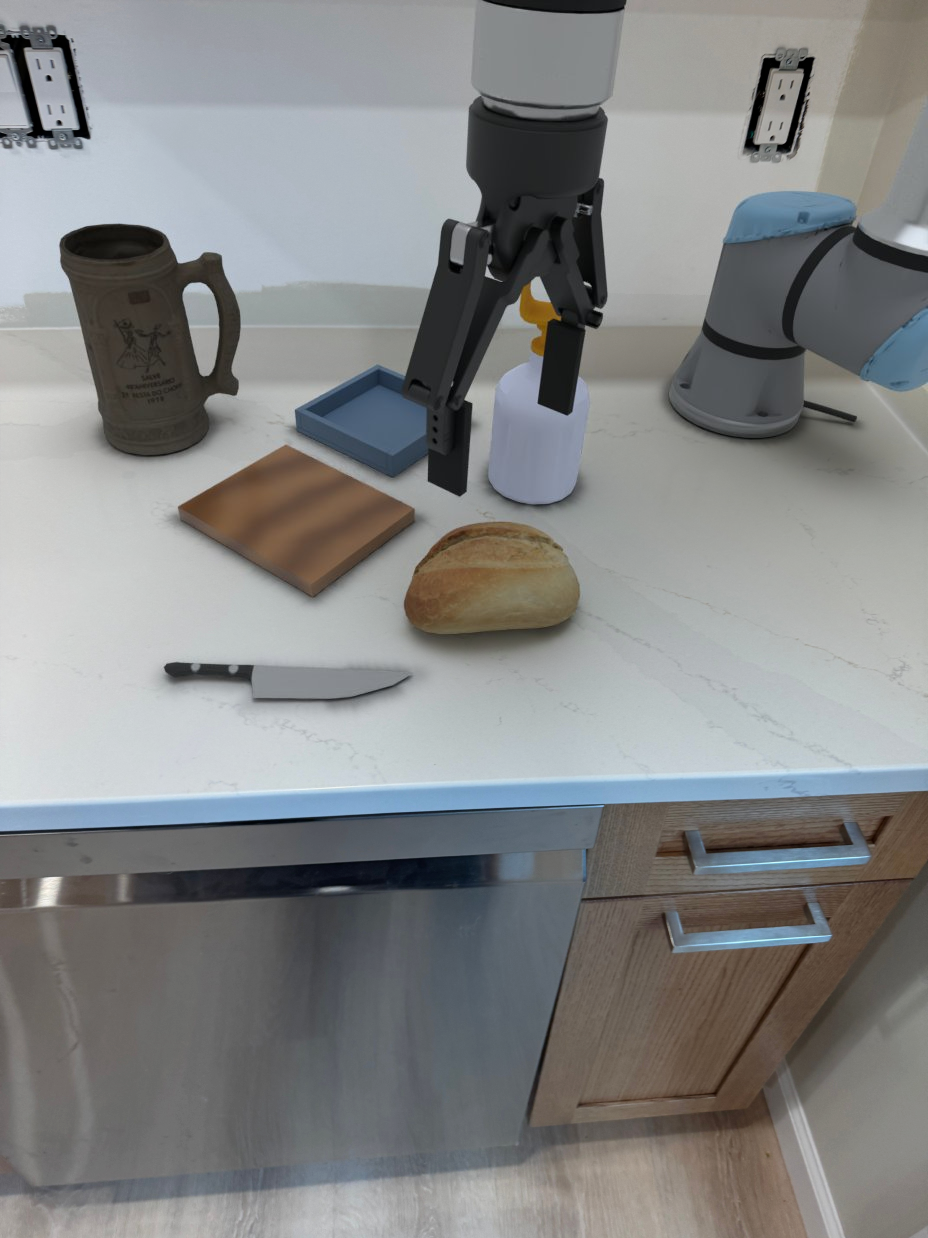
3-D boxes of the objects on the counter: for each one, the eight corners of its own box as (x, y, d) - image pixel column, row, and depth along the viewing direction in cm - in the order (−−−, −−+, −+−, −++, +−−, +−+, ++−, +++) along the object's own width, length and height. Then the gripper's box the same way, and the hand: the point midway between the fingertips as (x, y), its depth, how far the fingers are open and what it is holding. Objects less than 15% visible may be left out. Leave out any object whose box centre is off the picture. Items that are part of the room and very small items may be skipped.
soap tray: (470, 424, 92) (472, 403, 90) (393, 477, 84) (392, 455, 82) (378, 384, 97) (377, 363, 95) (296, 430, 89) (294, 409, 87)
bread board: (414, 520, 79) (414, 508, 78) (312, 597, 70) (311, 584, 69) (287, 456, 85) (285, 443, 84) (180, 519, 77) (177, 506, 76)
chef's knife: (411, 705, 62) (413, 674, 64) (412, 696, 62) (413, 665, 64) (157, 698, 62) (166, 667, 64) (153, 689, 61) (163, 658, 63)
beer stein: (108, 467, 82) (65, 263, 69) (89, 415, 89) (47, 220, 76) (258, 444, 89) (246, 253, 75) (230, 397, 95) (214, 214, 82)
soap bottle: (570, 513, 81) (615, 258, 64) (480, 498, 82) (500, 243, 65) (579, 463, 87) (622, 220, 70) (495, 450, 88) (517, 207, 71)
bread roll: (393, 587, 72) (392, 514, 66) (554, 567, 75) (566, 495, 69) (415, 667, 65) (416, 593, 60) (591, 640, 68) (608, 568, 63)
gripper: (594, 57, 53) (552, 365, 67) (325, 127, 38) (346, 503, 52) (702, 79, 50) (633, 396, 64) (455, 164, 35) (439, 551, 50)
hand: (504, 445), depth 59 cm, fingers open, 13 cm apart
